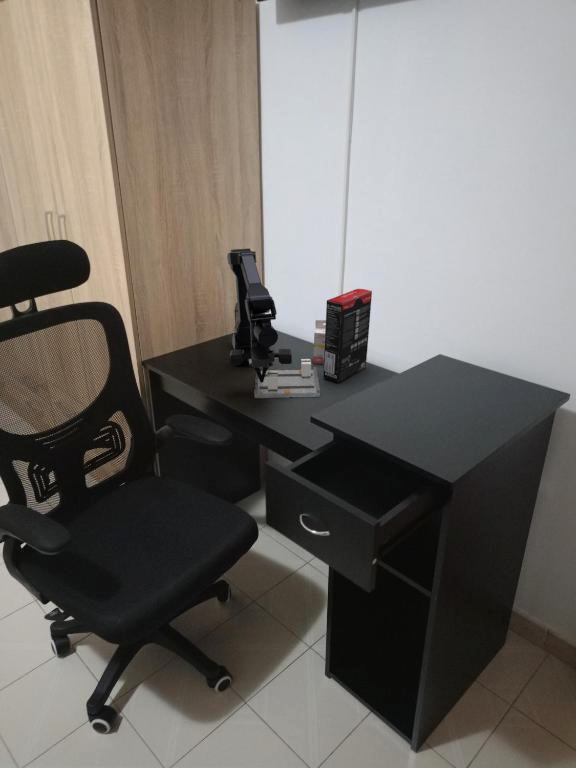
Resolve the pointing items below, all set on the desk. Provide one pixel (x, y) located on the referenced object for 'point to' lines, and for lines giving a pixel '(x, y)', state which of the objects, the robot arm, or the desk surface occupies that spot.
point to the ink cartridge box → (319, 342)
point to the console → (289, 385)
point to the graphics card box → (346, 334)
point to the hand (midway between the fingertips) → (261, 382)
